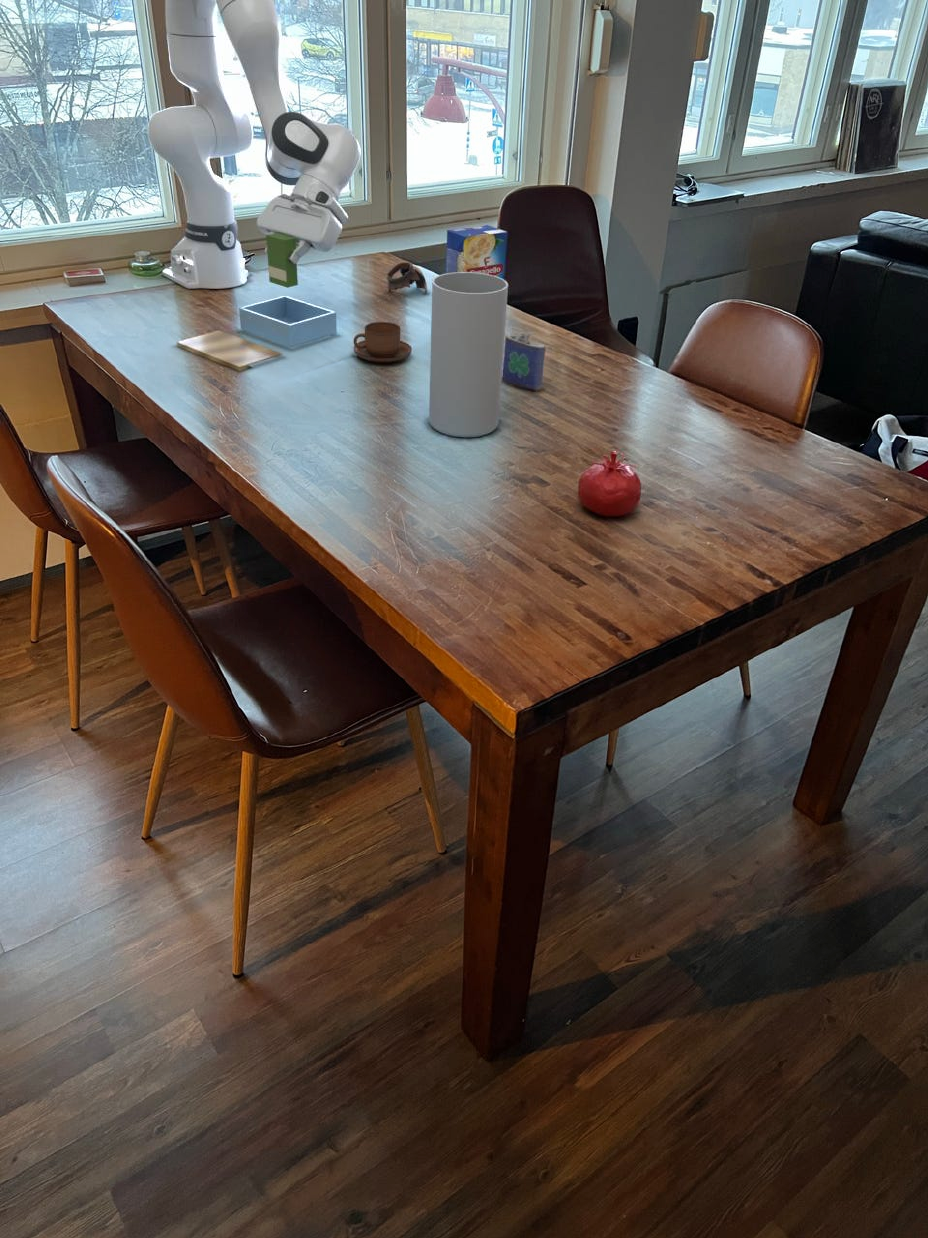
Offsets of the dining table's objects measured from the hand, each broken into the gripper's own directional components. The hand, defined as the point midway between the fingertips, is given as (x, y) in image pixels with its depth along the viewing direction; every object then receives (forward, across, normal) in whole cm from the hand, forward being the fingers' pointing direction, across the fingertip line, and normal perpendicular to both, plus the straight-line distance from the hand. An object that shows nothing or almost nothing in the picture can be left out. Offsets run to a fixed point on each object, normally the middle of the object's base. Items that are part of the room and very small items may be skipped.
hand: (279, 257), depth 193 cm
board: (+22, 0, 0) cm, 22 cm away
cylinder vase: (+18, +58, +4) cm, 61 cm away
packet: (+3, 0, +4) cm, 5 cm away
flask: (+2, +54, +21) cm, 58 cm away
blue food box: (-10, +28, +33) cm, 44 cm away
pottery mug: (-20, -4, +43) cm, 47 cm away
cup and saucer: (+8, +24, +15) cm, 30 cm away
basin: (+11, 0, +12) cm, 16 cm away
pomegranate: (+24, +94, -2) cm, 97 cm away
